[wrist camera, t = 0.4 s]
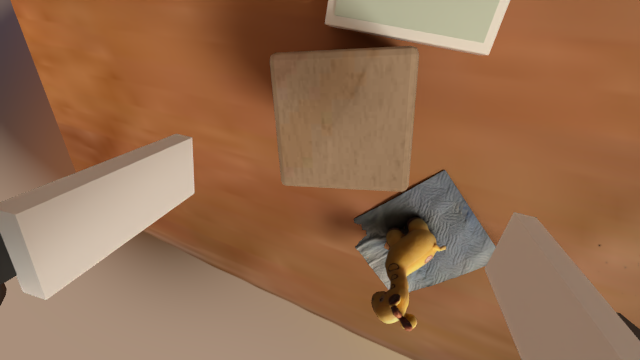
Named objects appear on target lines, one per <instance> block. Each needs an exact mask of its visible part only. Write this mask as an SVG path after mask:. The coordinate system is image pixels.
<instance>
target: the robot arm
mask: <svg viewBox="0 0 640 360" xmlns="http://www.w3.org/2000/svg"><path fill="white" fill-rule="evenodd" d="M194 193H195V192H194V169H193V146H192V137H188V136H184V135H179V134H174V135H172V136H169V137H167V138H164V139H162V140H159V141H156V142H154V143H151V144H149V145H146V146H144V147H141V148H138V149H136V150H133V151H131V152H128V153H126V154H123V155H120V156H118V157H115V158H113V159H110V160H108V161H105V162H102V163H100V164H97V165H95V166H92V167H90V168H87V169H84V170H82V171H79V172H77V173H74V174H72V175H69V176H67V177H64V178H61V179H59V180H57V181H54V182H51V183H48V184H46V185H43V186H41V187H38V188H36V189H33V190H30V191H28V192H25V193H23V194H20V195H18V196H15V197H12V198H10V199H7V200H5V201H2V202H0V305H1V303H2V301H3V299H4V297H5V295H6V287H5V284H4V282H6V281H8V280H9V279H11V278H13V277H14V276H17V278H18V281H19V284H20V286H21V289H22V291H23V292H25V293H27V294H30V295H33V296H36V297H39V298H42V299H45V300H47V299H48V298H50V297H51V296H52V295H54V294H55V293H56V292H58V291H59V290H61V289H62V288H63V287H65V286H66V285H68V284H69V283H70V282H72V281H73V280H74V279H76V278H77V277H78V276H80V275H81V274H83V273H84V272H86V271H87V270H88V269H90V268H91V267H93V266H94V265H95V264H97V263H98V262H100V261H101V260H102V259H104V258H105V257H106V256H108V255H109V254H111V253H112V252H113V251H115V250H116V249H118V248H119V247H120V246H122V245H123V244H125V243H126V242H127V241H129V240H130V239H131V238H133V237H134V236H136V235H137V234H138V233H139V232H141V231H143V230H144V229H145V228H147V227H148V226H150V225H151V224H152V223H154V222H155V221H156V220H158V219H159V218H161V217H162V216H163V215H165V214H166V213H168V212H169V211H170V210H172V209H173V208H175V207H176V206H177V205H179V204H180V203H181V202H183V201H184V200H186V199H187V198H188V197H190V196H191V195H193V194H194ZM485 271H486V274H487V276H488V279H489V281H490V284H491V286H492V288H493V291H494V293H495V296H496V298H497V301H498V303H499V306H500V308H501V311H502V313H503V315H504V318H505V320H506V323H507V325H508V328H509V330H510V333H511V335H512V338H513V340H514V342H515V345H516V347H517V350H518V352H519V355H520V357H521V360H640V329H639V328H637V327H636V326H635V325H634V324H632V323H631V322H630V321H629V320H628V319H626V318H625V317H624V316H623V315H621V314H620V313H617V312H615V311H614V310H613V308H612V307H611V306H610V305H609V304H608V302H607V301H606V300H605V299H604V298H603V296H602V295H601V294H600V293H599V292H598V291H597V289H596V288H595V287H594V286H593V285H592V283H591V282H590V281H589V280H588V279H587V277H586V276H585V275H584V274H583V273H582V271H581V270H580V269H579V268H578V267H577V265H576V264H575V263H574V262H573V261H572V260H571V258H570V257H569V256H568V255H567V254H566V252H565V251H564V250H563V249H562V248H561V246H560V245H559V244H558V243H557V242H556V240H555V239H554V238H553V237H552V236H551V234H550V233H549V232H548V231H547V230H546V229H545V227H544V226H543V225H542V224H541V223H540V221H539V220H538V219H537V218H536V217H532V216H528V215H524V214H519V213H515V212H514V213H513V215H512V217H511V219H510V221H509V223H508V225H507V227H506V229H505V231H504V232H503V234H502V236H501V238H500V240H499V242H498V244H497V246H496V248H495V250H494V252H493V254H492V256H491V258H490V260H489V261H488V263H487V265H486V267H485Z"/></svg>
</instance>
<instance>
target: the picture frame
mask: <svg viewBox="0 0 640 360" xmlns="http://www.w3.org/2000/svg"><path fill="white" fill-rule="evenodd" d="M509 2H510V0H328V6H327V12H326V18H325V24H326V25H328V26H330V27H336V28H341V29H346V30H351V31H356V32H362V33H367V34H372V35H377V36H382V37H388V38H393V39H398V40H403V41H408V42H414V43H419V44H424V45H429V46H434V47H440V48H445V49H450V50H455V51H460V52H466V53H471V54H476V55H489V53H490V50H491V48H492V45H493V42H494V40H495V37H496V35H497V32H498V30H499V27H500V25H501V22H502V19H503V17H504V14H505V12H506V9H507V7H508V4H509Z"/></svg>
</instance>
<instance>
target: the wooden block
mask: <svg viewBox="0 0 640 360" xmlns="http://www.w3.org/2000/svg"><path fill="white" fill-rule="evenodd" d="M418 62H419V52H418V49H417V48H416V47H413V46H398V47H378V48H358V49H338V50H318V51H298V52H278V53H274V54H272V55H271V56H270V70H271V80H272V90H273V101H274V111H275V121H276V131H277V142H278V152H279V162H280V172H281V181H282V184H284V185H287V186H305V187H324V188H342V189H360V190H379V191H397V192H402V191H406V189H407V188H408V186H409V173H410V161H411V148H412V136H413V124H414V111H415V99H416V87H417V74H418Z"/></svg>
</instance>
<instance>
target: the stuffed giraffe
mask: <svg viewBox="0 0 640 360" xmlns="http://www.w3.org/2000/svg"><path fill="white" fill-rule="evenodd" d="M354 223H357V224H362V230H366V231H367V232H366V234H367V236H365V237H364V238H363V239H362V240H361V241H360V242H359V243H358V245H357V246H355V247H356V249H357V250H358V251H359V252H360V254H362V255H363V257H364V259H366V261H367V263H368V264H369V266H371V268H372V269H373V270H374V272H375V273H376V274H377V275H378V277H379V278H380V280H381V281H382V282H383V283H384V284H385V286H386V287H387V288H388V289H389V291H387V292H385V291H381V292H376V293H375V294H374V295H373V296H372V302H371V303H372V307H373V310H374V312H375V313H376V315H377V317H378V318H379V319H380V320H381V321H383V322H384V323H387V324H388V323H394V322H396V321H398V320H400V324H401V327H402V328H403V329H405V330H406V331H411V330H412V329H414V328H415V327H416V324H417V319H416V317H415V316H414V315H412V314H407V313H406V309H407V307H408V303H409V292H411V291H414V290H418V289H420V288H425V287H429V286H432V285H435V284H438V283H440V282H444V281H445V280H448V279H451V278H455V277H458V276H460V275H463V274H466V273H469V272H471V271H474V270H476V269H479V268H481V267H483V266H486V265H487V263H488V261H489V260H490V258H491V256H492V254H493V252H494V250H495V248H496V247H495V245H494V244H493V242H492V241H491V239H490V238H489V236H488V235H487V233H486V232H485V230H484V229H483V227H482V226H481V224H480V223H479V221H478V220H477V218H476V217H475V215H474V214H473V212H472V210H471V209H470V207H469V206H468V204H467V203H466V201H465V200H464V198H463V197H462V195H461V194H460V192H459V190H458V189H457V188H456V186H455V184H454V183H453V181H452V180H451V178H450V177H449V175H448V174H447V172H446V171H445V170H444V171H442V172H440V173H438V174H437V175H435V176H433V177H432V178H430V179H428V180H426V181H424V182H423V183H421V184H419V185H417V186H415V187H414V188H412V189H410V190H409V191H407V192H405V193H403V194H401V195H400V196H398V197H396V198H394V199H392V200H390V201H388V202H387V203H384V204H383V205H381V206H379V207H377V208H375V209H372V210H371V211H369V212H367V213H365V214H363V215H361V216H359V217H357V218H355V219H354ZM363 226H364V227H363ZM386 242H387V243H388V244H389V246H390V248H389V250H387V249H385V248H384V245H385V243H386ZM367 257H368V258H367Z"/></svg>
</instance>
